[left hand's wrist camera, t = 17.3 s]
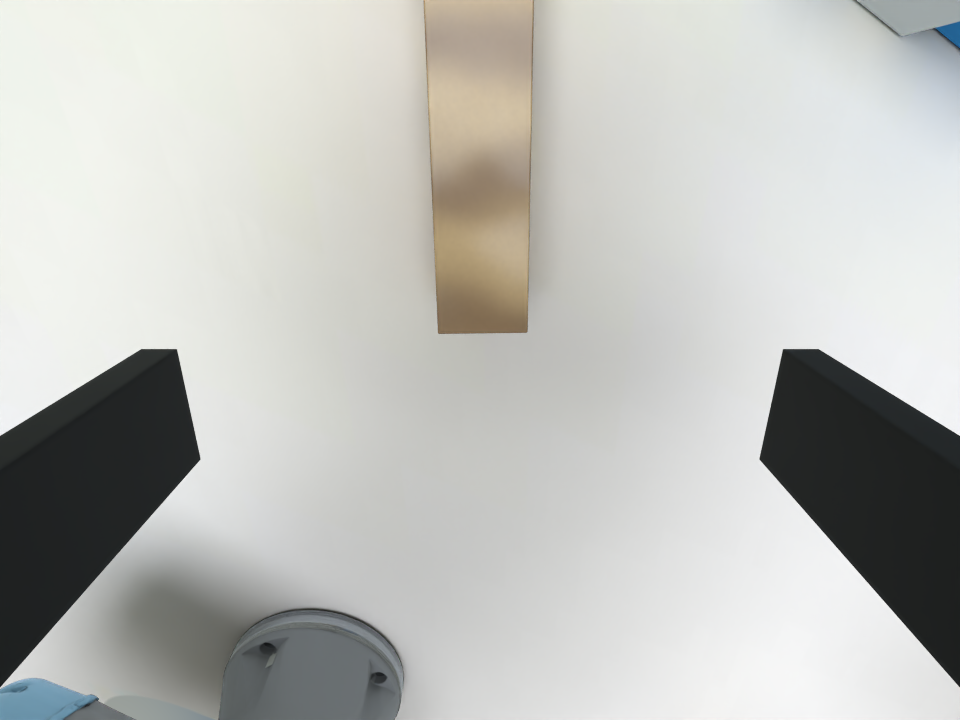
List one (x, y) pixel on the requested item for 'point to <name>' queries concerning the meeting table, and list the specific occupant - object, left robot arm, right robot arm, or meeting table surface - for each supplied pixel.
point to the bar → (480, 160)
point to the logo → (918, 16)
